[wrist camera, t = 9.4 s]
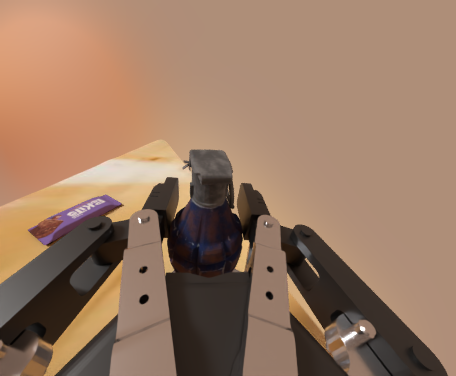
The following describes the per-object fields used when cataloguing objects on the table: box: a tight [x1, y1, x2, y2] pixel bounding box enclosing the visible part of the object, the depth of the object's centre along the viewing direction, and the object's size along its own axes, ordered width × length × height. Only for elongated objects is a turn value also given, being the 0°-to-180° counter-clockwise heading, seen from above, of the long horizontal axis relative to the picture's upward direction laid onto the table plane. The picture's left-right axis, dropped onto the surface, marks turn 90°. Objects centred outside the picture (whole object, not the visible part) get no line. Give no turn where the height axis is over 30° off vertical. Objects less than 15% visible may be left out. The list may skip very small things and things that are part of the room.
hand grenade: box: [167, 150, 243, 278], centre depth 11 cm, size 6×5×10 cm
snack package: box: [28, 195, 121, 245], centre depth 28 cm, size 12×2×5 cm
